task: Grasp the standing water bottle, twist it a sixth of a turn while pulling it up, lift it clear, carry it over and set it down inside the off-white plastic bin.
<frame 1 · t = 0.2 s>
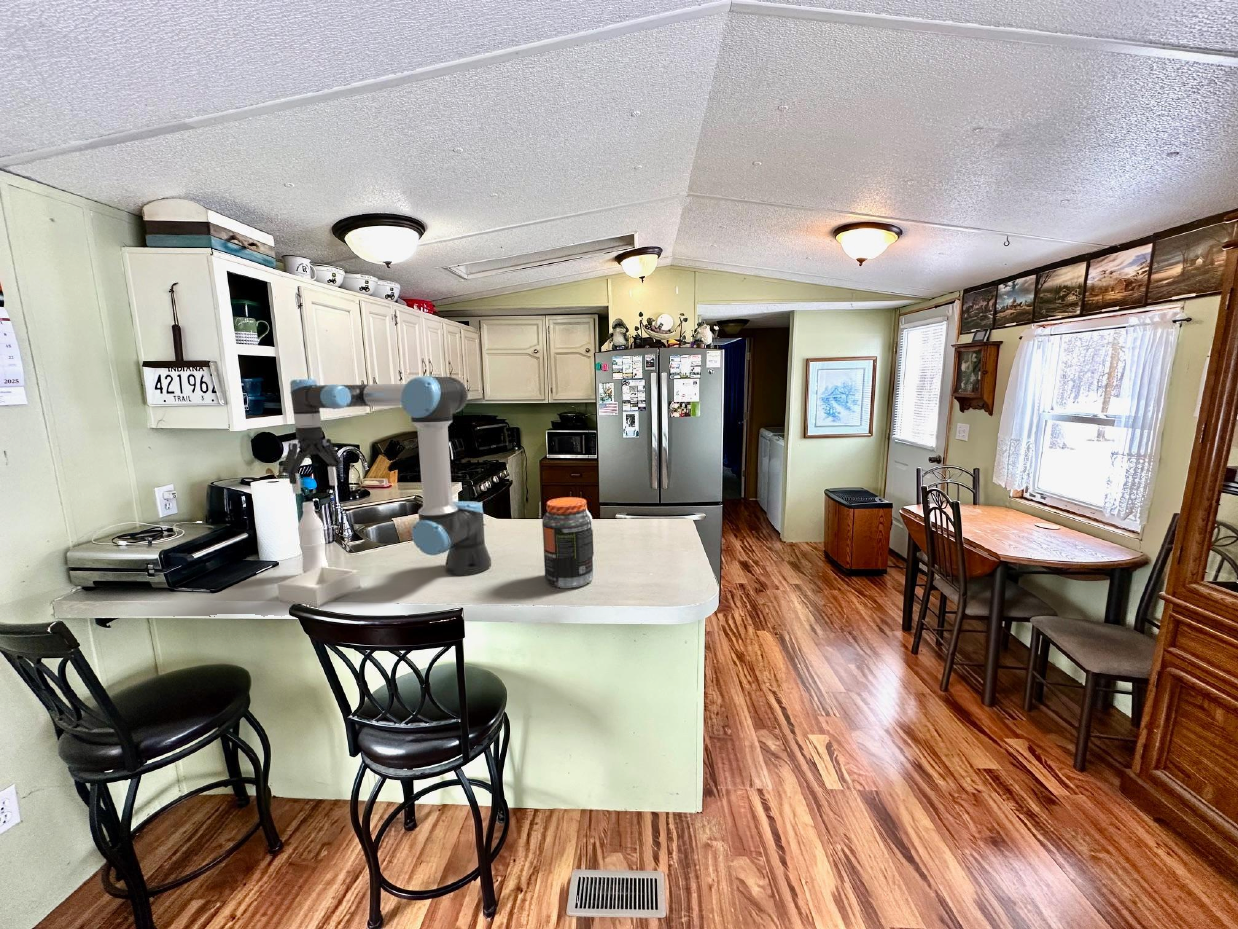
hand: (316, 489, 169), 28 cm above the countertop, fingers open, 13 cm apart
bin: (321, 594, 152), on the countertop
supplement tub: (569, 580, 160), on the countertop
water bottle: (316, 576, 167), on the countertop
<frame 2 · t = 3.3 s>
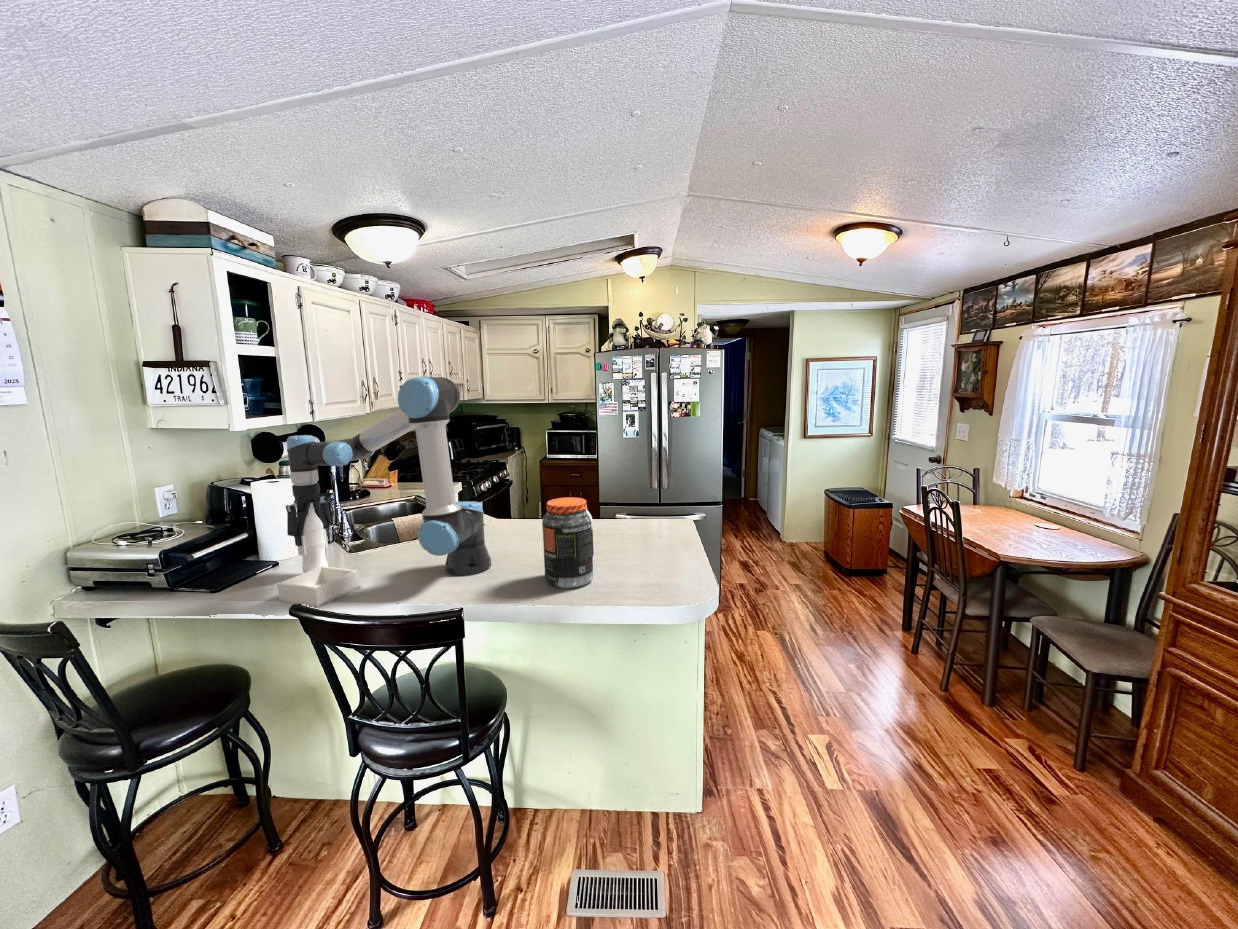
hand: (313, 550, 166), 9 cm above the countertop, fingers closed on water bottle, 7 cm apart
water bottle: (316, 576, 167), on the countertop, touching gripper
everything else where it was.
when the fingers open (11 cm above the countertop, at t = 10.7 s): water bottle drops 2 cm, resting on bin.
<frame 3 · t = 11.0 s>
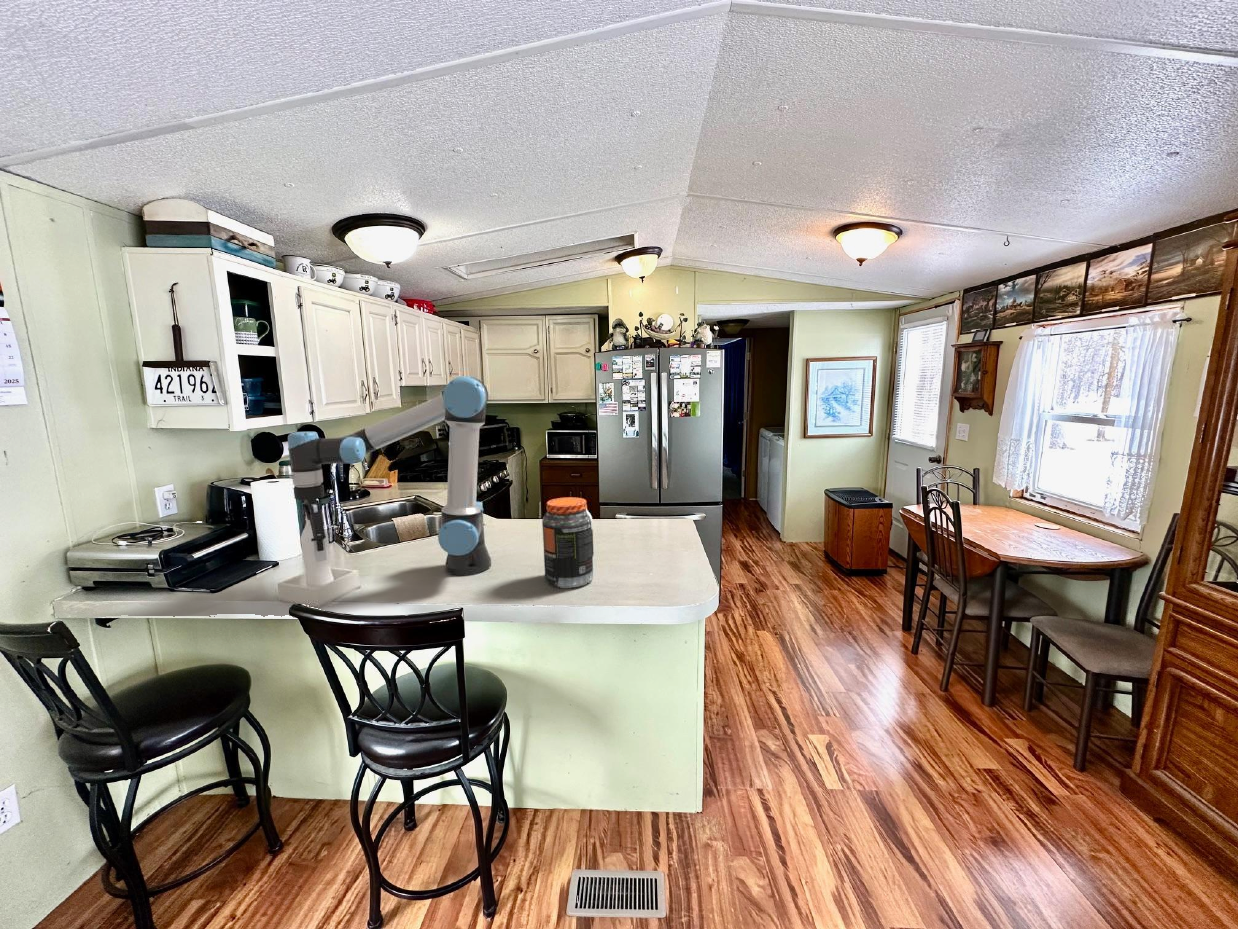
hand: (316, 555, 150), 12 cm above the countertop, fingers open, 11 cm apart
water bottle: (321, 592, 152), point 1 cm above the countertop, touching bin
everything else where it was.
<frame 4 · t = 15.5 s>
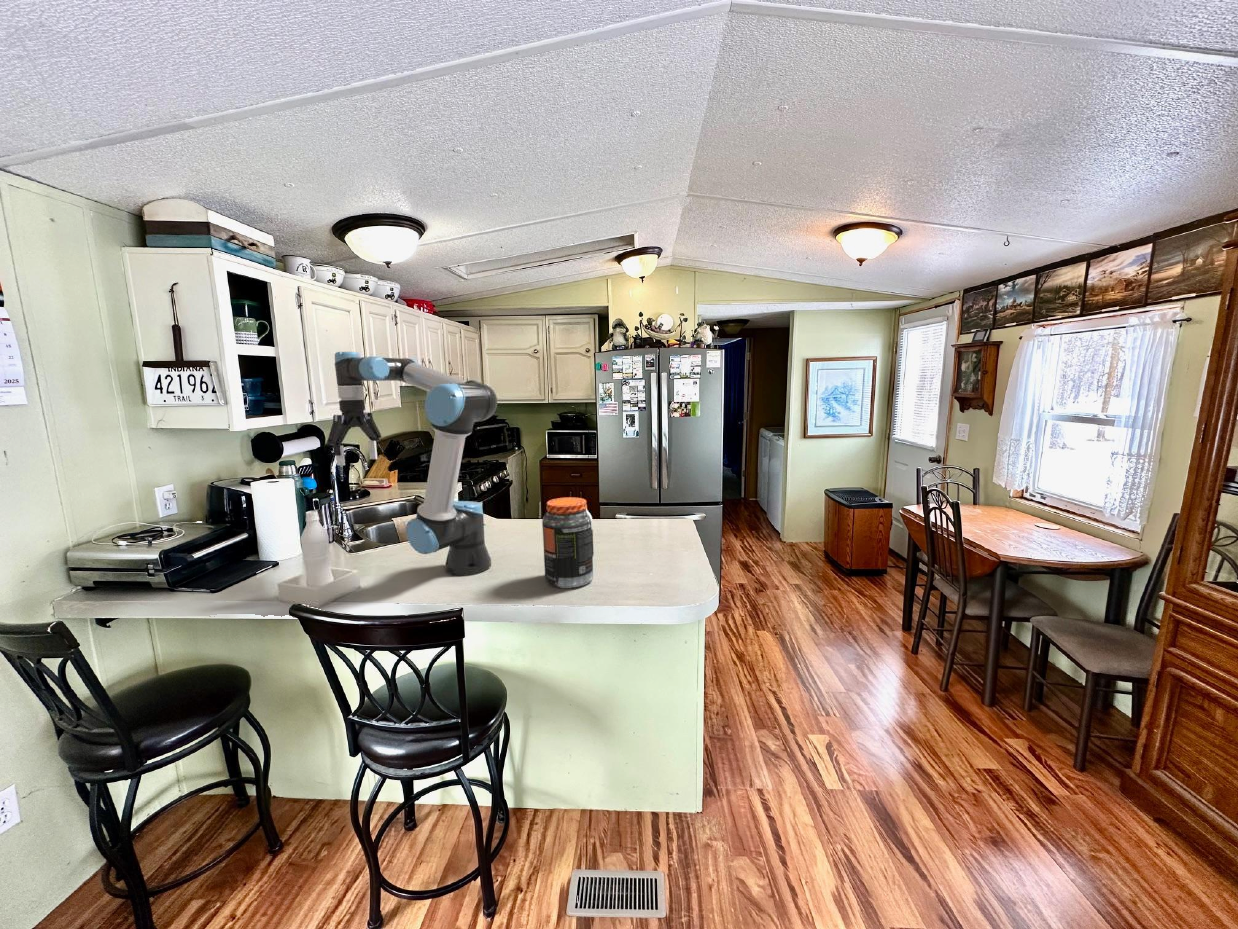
hand: (358, 462, 170), 37 cm above the countertop, fingers open, 13 cm apart
nothing on the countertop moved.
at the end: water bottle inside the target area on the bin (0.1 cm from its centre), point 0.6 cm above the bin's base; the gripper is holding nothing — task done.
